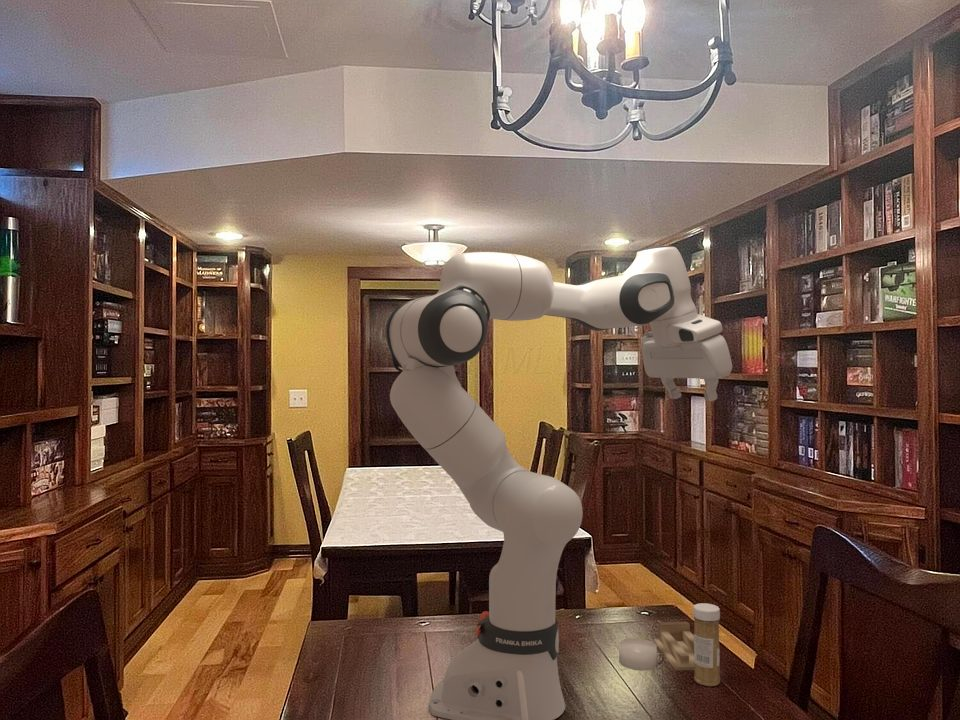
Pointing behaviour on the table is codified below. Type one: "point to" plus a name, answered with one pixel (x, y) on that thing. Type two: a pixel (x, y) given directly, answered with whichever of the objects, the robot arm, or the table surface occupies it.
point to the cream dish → (638, 654)
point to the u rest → (677, 644)
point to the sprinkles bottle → (706, 644)
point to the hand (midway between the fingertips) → (693, 399)
